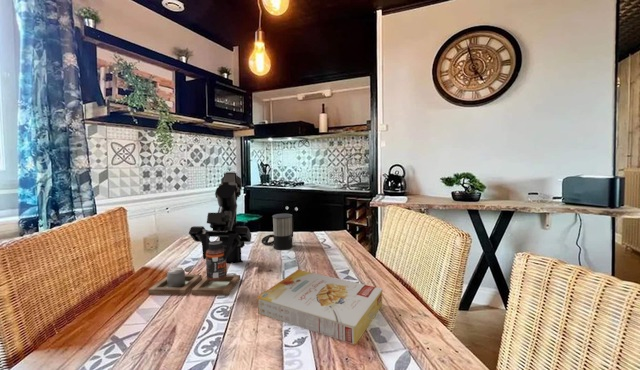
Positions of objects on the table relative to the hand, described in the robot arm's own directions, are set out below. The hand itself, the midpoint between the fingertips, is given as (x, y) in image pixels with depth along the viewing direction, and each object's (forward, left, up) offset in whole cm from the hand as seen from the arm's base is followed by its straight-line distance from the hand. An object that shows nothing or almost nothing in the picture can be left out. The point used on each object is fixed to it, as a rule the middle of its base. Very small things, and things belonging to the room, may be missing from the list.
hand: (214, 258), depth 89 cm
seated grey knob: (+9, -9, -9) cm, 16 cm away
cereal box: (-19, +29, -11) cm, 36 cm away
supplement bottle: (-1, -1, -7) cm, 7 cm away
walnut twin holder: (+4, -5, -10) cm, 12 cm away
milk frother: (-38, -30, -11) cm, 49 cm away
